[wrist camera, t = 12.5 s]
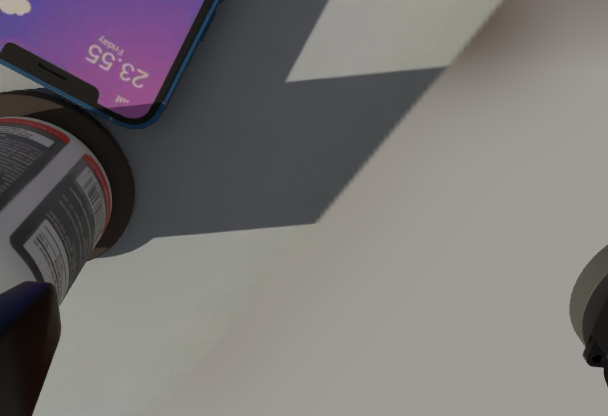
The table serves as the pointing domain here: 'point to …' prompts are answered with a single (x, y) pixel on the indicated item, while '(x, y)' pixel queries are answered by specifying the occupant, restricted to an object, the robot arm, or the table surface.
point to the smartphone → (106, 50)
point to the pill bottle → (48, 204)
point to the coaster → (97, 144)
